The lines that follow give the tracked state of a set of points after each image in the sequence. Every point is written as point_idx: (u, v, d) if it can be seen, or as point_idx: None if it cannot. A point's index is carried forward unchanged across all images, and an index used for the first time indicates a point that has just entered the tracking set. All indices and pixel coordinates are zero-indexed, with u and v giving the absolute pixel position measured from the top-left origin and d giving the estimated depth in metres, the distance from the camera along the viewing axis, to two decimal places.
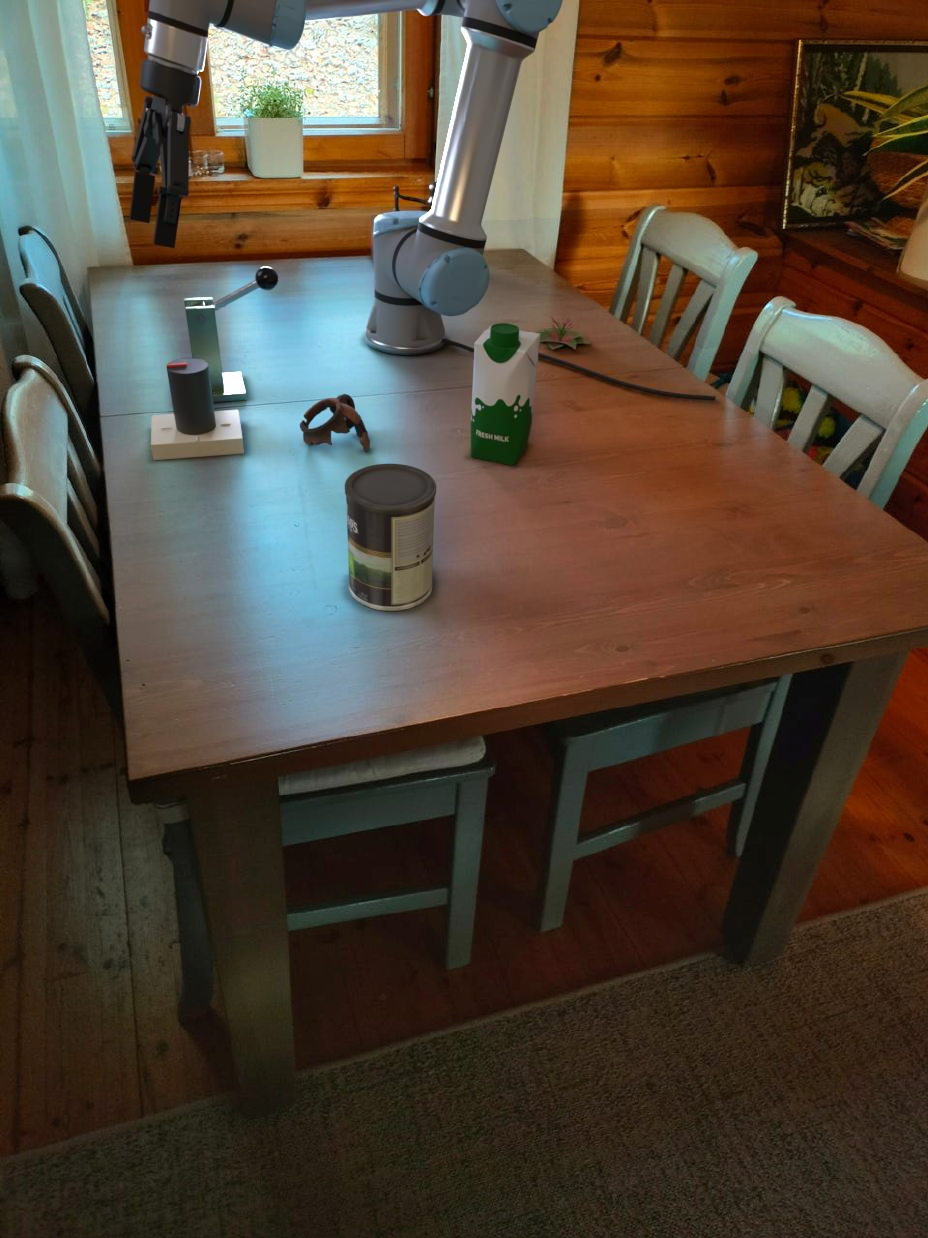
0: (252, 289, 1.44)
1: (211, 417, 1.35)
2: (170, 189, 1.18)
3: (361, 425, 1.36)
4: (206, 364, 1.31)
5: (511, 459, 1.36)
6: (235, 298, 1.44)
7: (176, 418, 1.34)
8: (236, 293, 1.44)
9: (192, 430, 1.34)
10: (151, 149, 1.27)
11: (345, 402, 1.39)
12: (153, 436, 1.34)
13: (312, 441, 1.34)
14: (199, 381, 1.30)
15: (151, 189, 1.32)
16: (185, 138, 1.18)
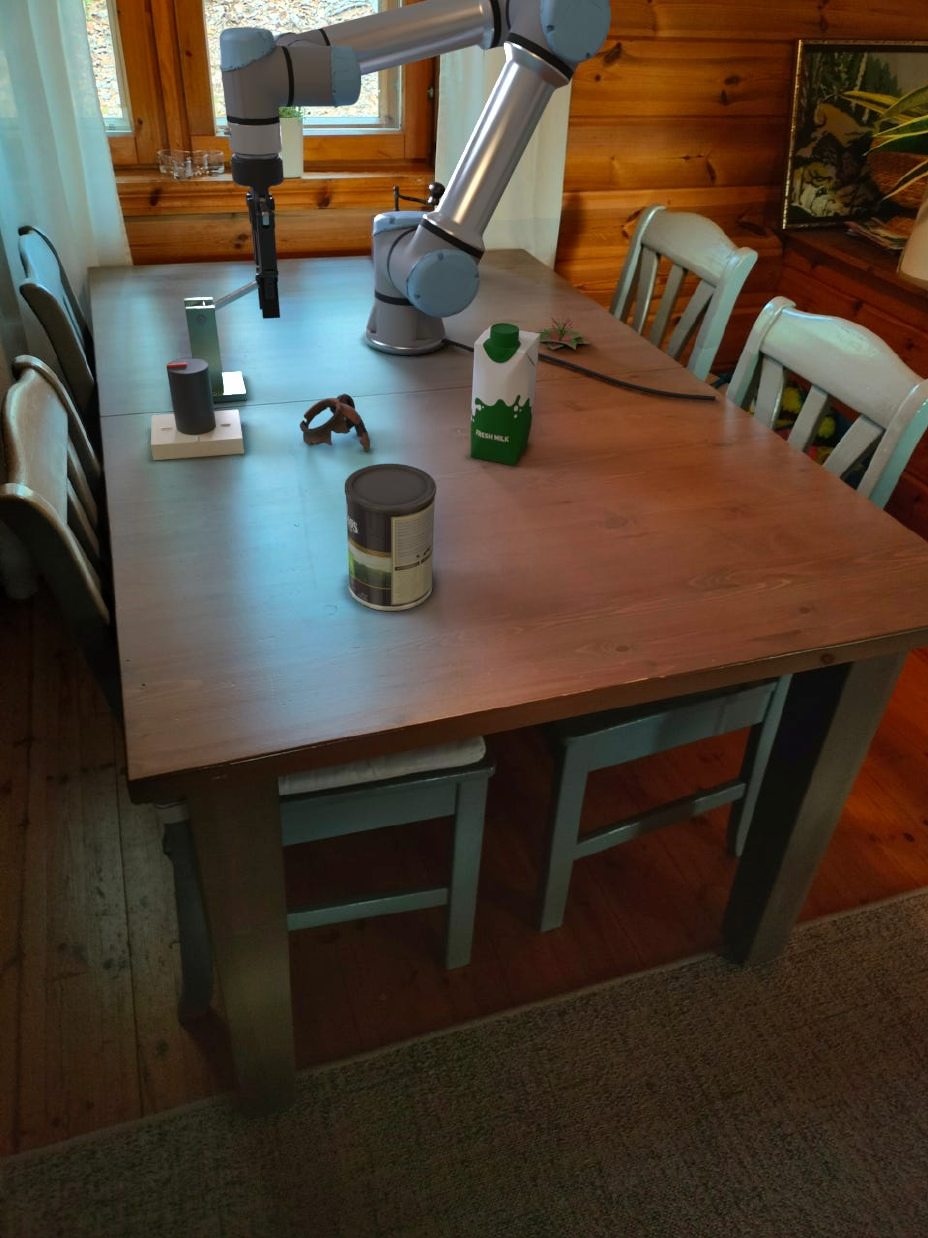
0: (252, 289, 1.44)
1: (211, 417, 1.35)
2: (262, 276, 1.39)
3: (361, 425, 1.36)
4: (206, 364, 1.31)
5: (511, 459, 1.36)
6: (235, 298, 1.44)
7: (176, 418, 1.34)
8: (236, 293, 1.44)
9: (192, 430, 1.34)
10: None
11: (345, 402, 1.39)
12: (153, 436, 1.34)
13: (312, 441, 1.34)
14: (199, 381, 1.30)
15: None
16: (271, 230, 1.35)
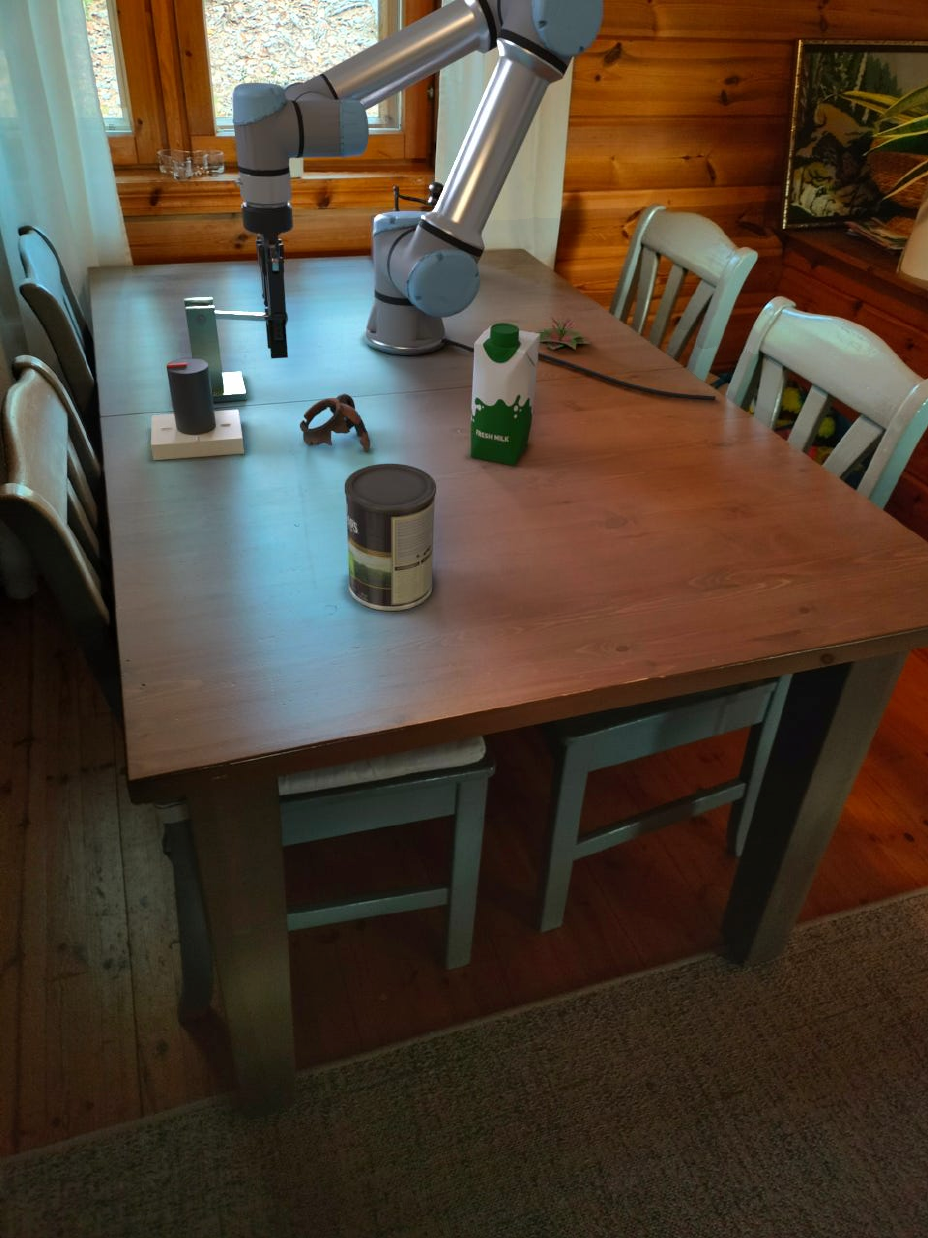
0: (259, 320, 1.47)
1: (211, 417, 1.35)
2: (271, 319, 1.43)
3: (361, 425, 1.36)
4: (206, 364, 1.31)
5: (511, 459, 1.36)
6: (240, 318, 1.46)
7: (176, 418, 1.34)
8: (243, 315, 1.46)
9: (192, 430, 1.34)
10: None
11: (345, 402, 1.39)
12: (153, 436, 1.34)
13: (312, 441, 1.34)
14: (199, 381, 1.30)
15: None
16: (280, 276, 1.39)
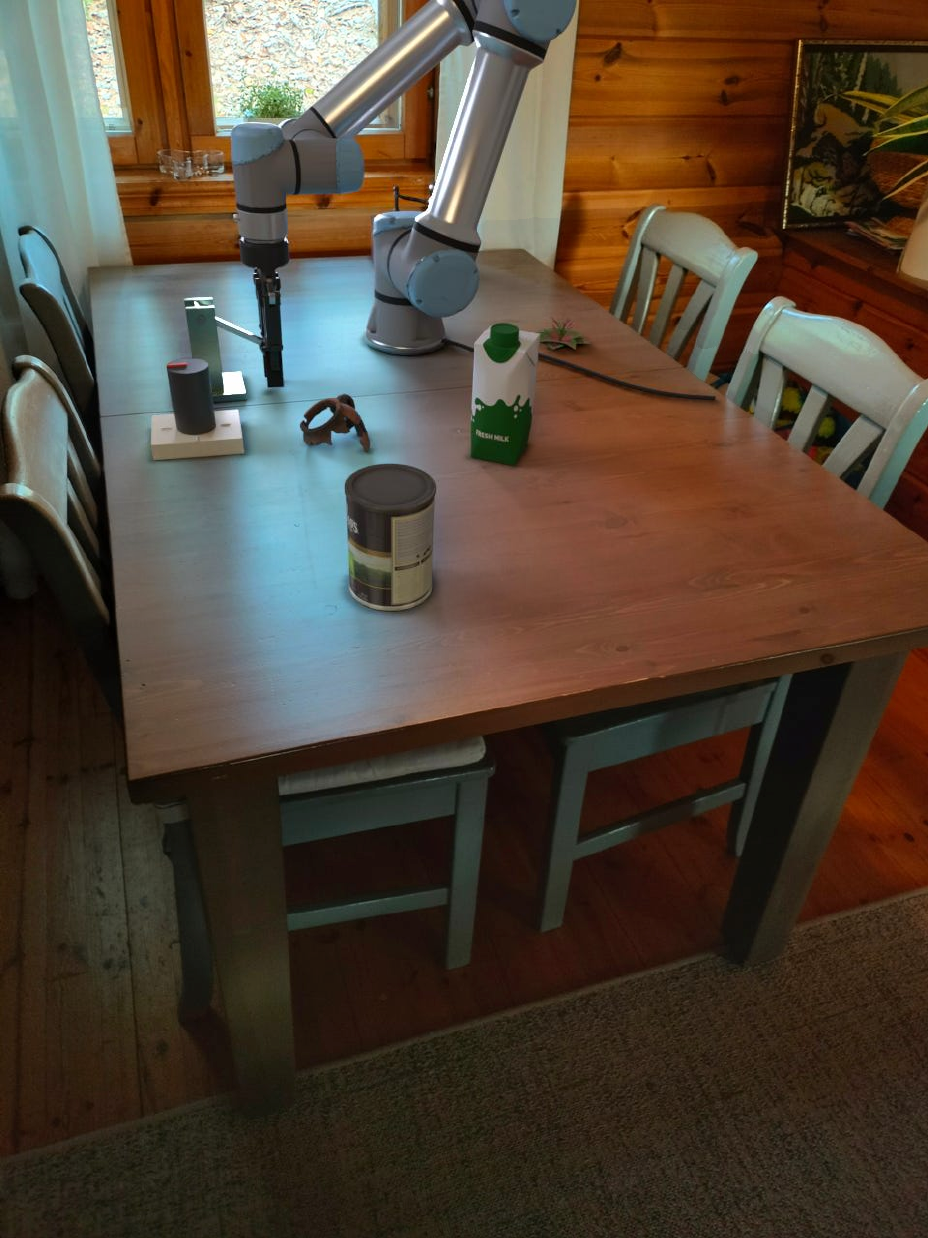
0: (254, 341, 1.49)
1: (211, 417, 1.35)
2: (268, 350, 1.46)
3: (361, 425, 1.36)
4: (206, 364, 1.31)
5: (511, 459, 1.36)
6: (236, 333, 1.48)
7: (176, 418, 1.34)
8: (241, 331, 1.48)
9: (192, 430, 1.34)
10: None
11: (345, 402, 1.39)
12: (153, 436, 1.34)
13: (312, 441, 1.34)
14: (199, 381, 1.30)
15: None
16: (277, 309, 1.42)
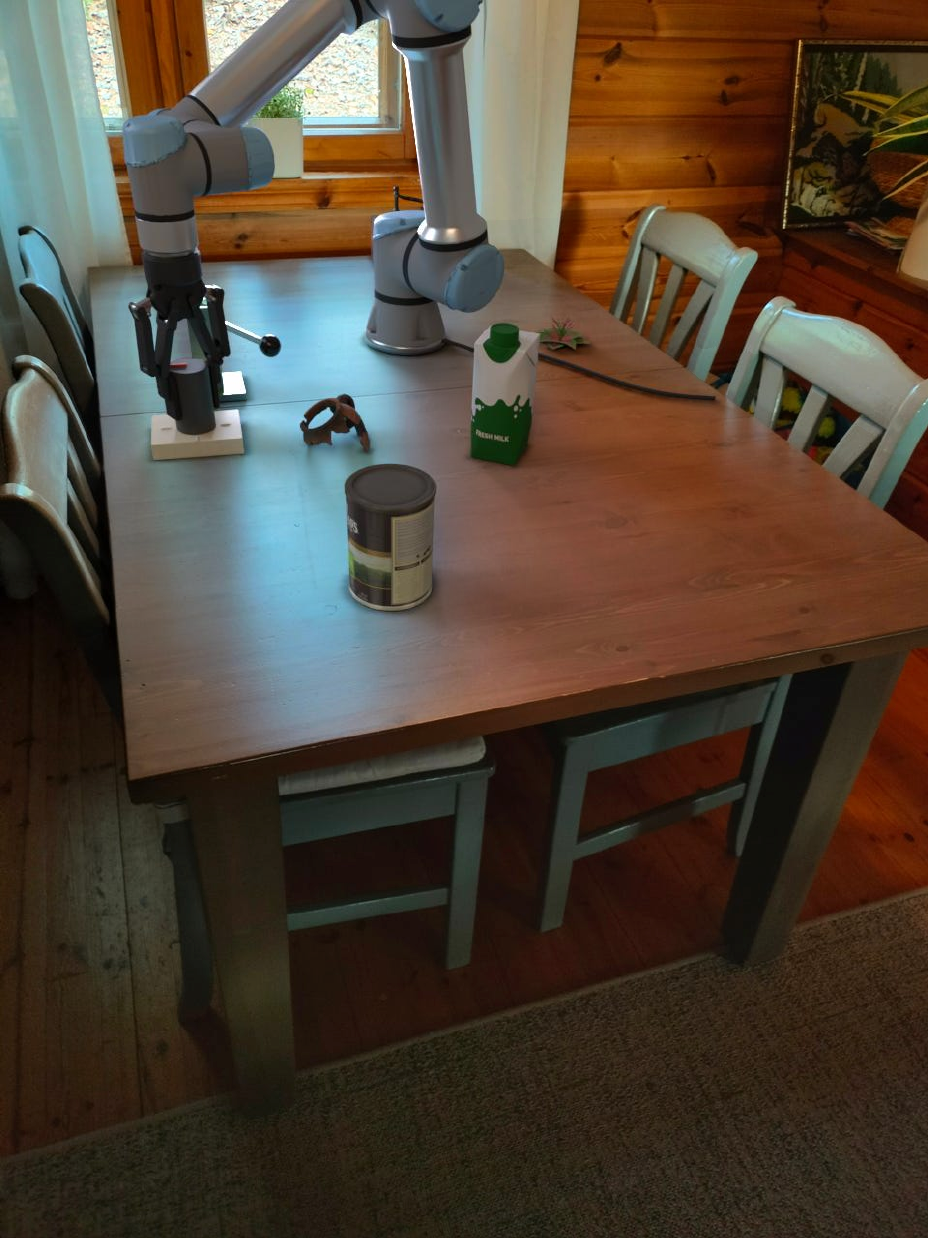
0: (254, 341, 1.49)
1: (211, 417, 1.35)
2: (141, 370, 1.27)
3: (361, 425, 1.36)
4: (206, 364, 1.31)
5: (511, 459, 1.36)
6: (236, 333, 1.48)
7: None
8: (241, 331, 1.48)
9: (192, 430, 1.34)
10: (197, 333, 1.30)
11: (345, 402, 1.39)
12: (153, 436, 1.34)
13: (312, 441, 1.34)
14: (199, 381, 1.30)
15: (210, 378, 1.33)
16: (141, 326, 1.23)
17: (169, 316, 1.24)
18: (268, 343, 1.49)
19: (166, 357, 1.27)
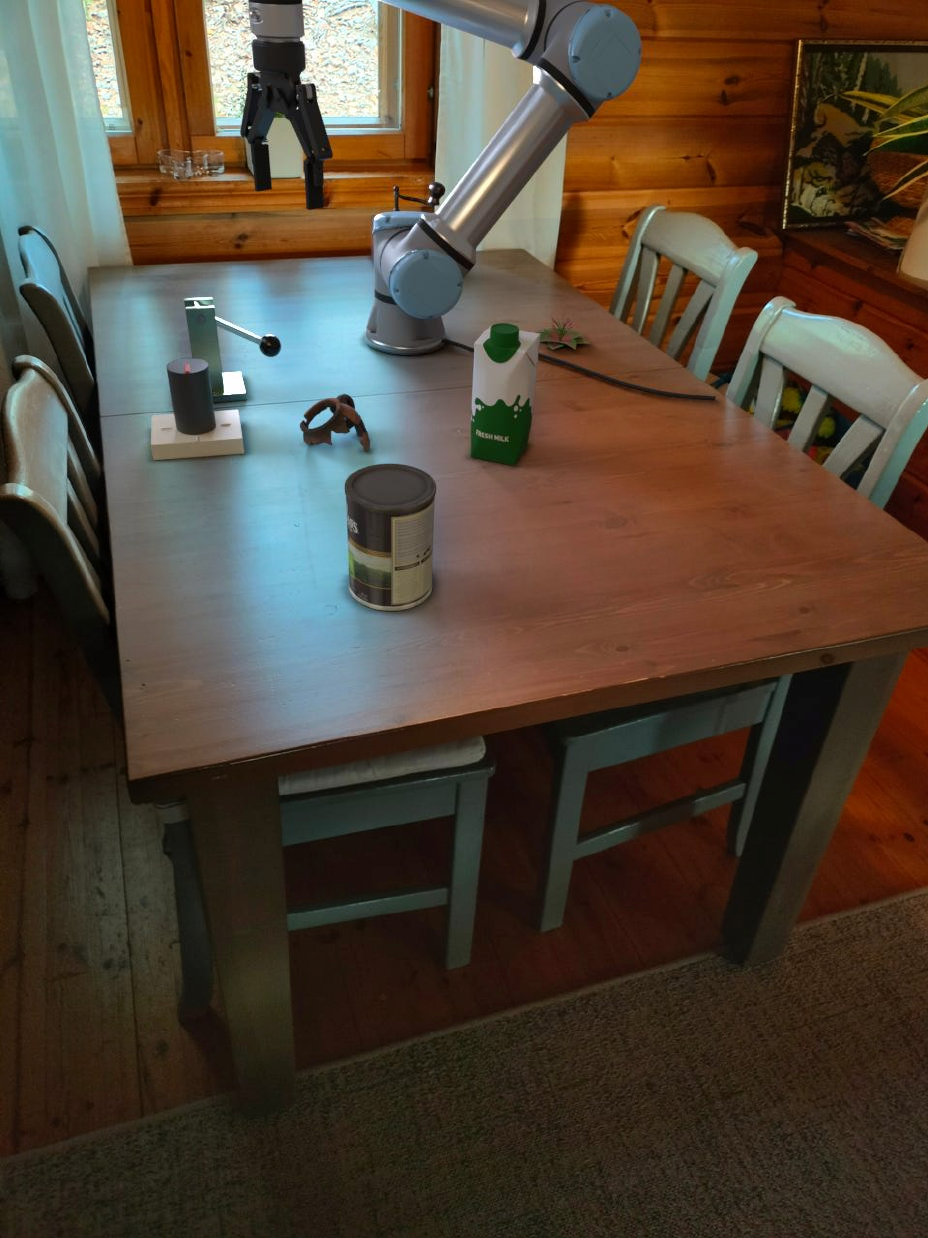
0: (254, 341, 1.49)
1: None
2: (319, 156, 1.31)
3: (361, 425, 1.36)
4: (187, 358, 1.33)
5: (511, 459, 1.36)
6: (236, 333, 1.48)
7: (203, 420, 1.34)
8: (241, 331, 1.48)
9: (215, 421, 1.37)
10: (265, 121, 1.38)
11: (345, 402, 1.39)
12: (153, 436, 1.34)
13: (312, 441, 1.34)
14: None
15: (267, 157, 1.44)
16: (315, 105, 1.30)
17: None
18: (268, 343, 1.49)
19: None
